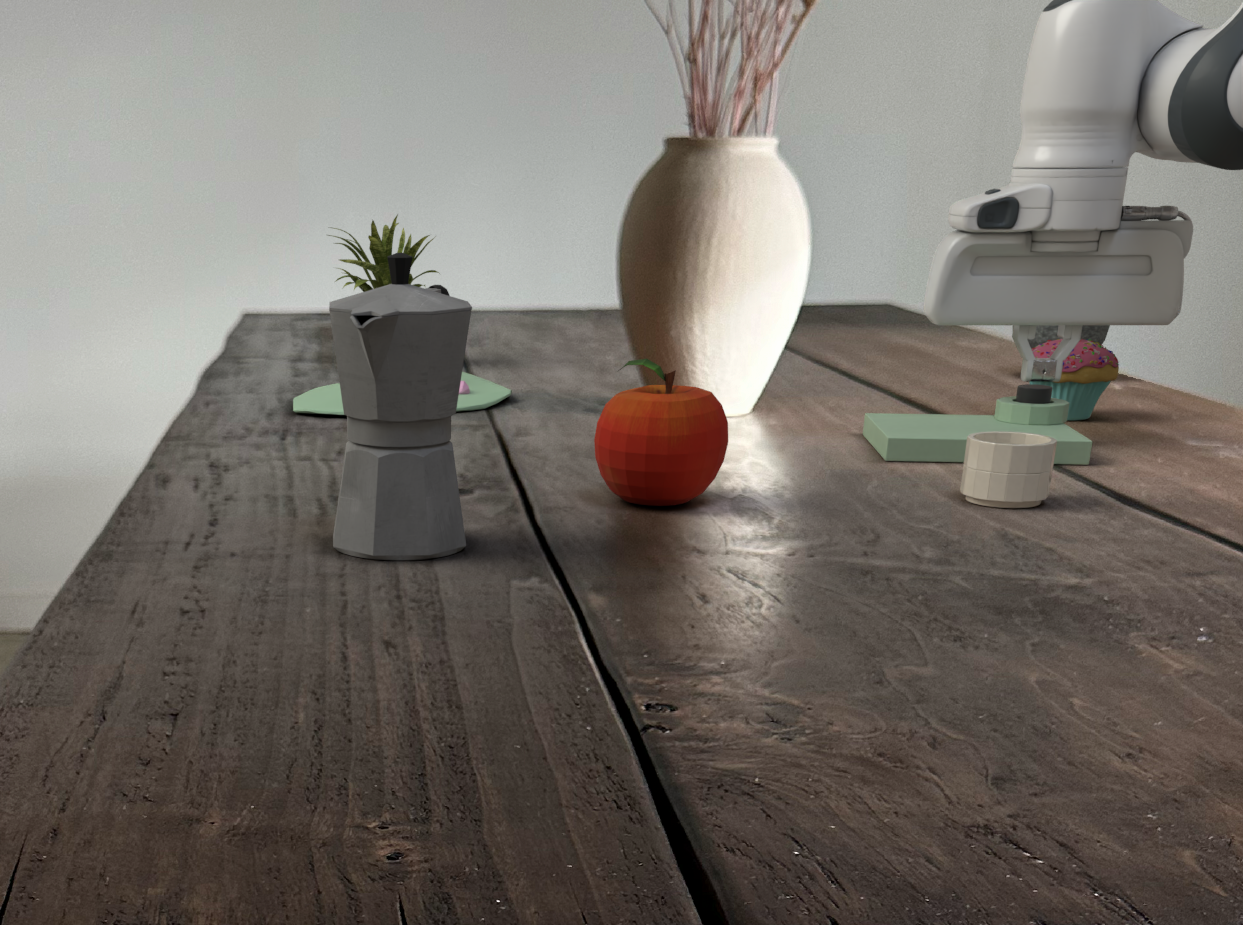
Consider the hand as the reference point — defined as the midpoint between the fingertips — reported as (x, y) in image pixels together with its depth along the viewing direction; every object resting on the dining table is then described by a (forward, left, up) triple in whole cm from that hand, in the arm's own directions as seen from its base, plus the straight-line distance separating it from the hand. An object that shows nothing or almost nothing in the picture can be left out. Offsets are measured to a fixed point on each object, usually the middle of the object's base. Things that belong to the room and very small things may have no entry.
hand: (1039, 381), depth 145 cm
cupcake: (-6, -15, -5) cm, 17 cm away
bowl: (+8, +26, -5) cm, 27 cm away
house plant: (+62, -47, -5) cm, 78 cm away
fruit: (+33, +29, -5) cm, 44 cm away
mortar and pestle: (-12, -43, -5) cm, 45 cm away
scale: (+6, +4, -5) cm, 9 cm away
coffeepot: (+50, +44, -5) cm, 67 cm away
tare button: (0, 0, -2) cm, 2 cm away
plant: (+57, -18, -5) cm, 60 cm away
